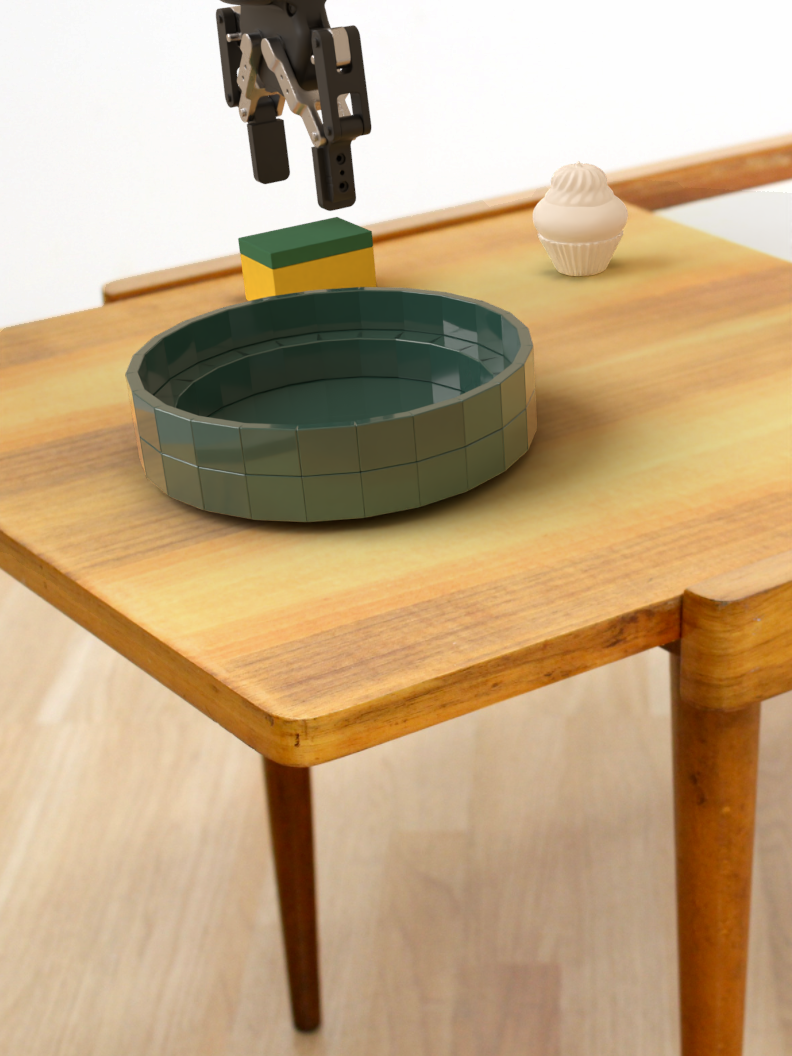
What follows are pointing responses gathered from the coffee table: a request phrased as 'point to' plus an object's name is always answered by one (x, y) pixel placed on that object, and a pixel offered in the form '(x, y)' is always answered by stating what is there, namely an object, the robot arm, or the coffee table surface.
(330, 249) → the sponge
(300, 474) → the bowl
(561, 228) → the muffin
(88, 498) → the coffee table surface
